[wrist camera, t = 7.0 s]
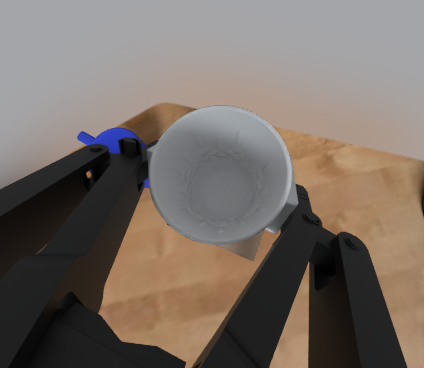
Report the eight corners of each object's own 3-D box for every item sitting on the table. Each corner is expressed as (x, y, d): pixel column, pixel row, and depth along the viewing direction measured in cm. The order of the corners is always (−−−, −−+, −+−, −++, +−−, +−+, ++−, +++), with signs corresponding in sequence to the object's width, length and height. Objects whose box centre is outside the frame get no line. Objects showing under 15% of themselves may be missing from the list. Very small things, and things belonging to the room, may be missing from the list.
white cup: (176, 188, 19) (122, 163, 10) (226, 146, 20) (224, 80, 10) (218, 242, 18) (207, 279, 8) (272, 196, 18) (326, 176, 8)
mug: (127, 137, 34) (87, 107, 24) (175, 163, 32) (152, 142, 22) (106, 171, 33) (55, 154, 24) (154, 199, 31) (120, 194, 22)
